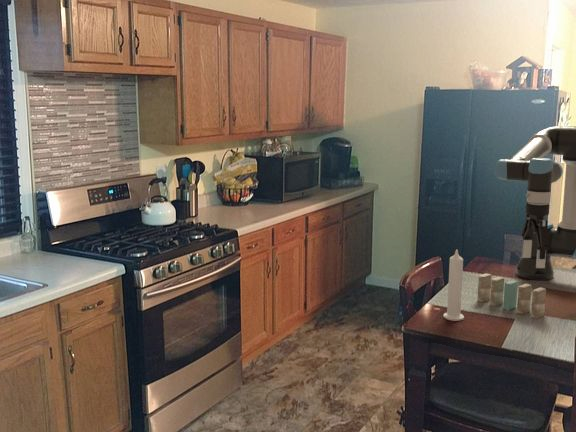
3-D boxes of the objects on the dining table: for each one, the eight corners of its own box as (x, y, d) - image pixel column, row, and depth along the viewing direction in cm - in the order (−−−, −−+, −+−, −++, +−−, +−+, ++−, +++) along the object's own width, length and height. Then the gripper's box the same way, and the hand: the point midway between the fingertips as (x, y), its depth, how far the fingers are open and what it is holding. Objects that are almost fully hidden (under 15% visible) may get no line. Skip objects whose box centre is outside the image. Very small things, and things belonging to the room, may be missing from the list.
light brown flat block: (477, 300, 225) (478, 275, 223) (485, 298, 228) (486, 273, 226) (482, 302, 223) (483, 277, 221) (490, 299, 226) (491, 274, 224)
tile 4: (489, 304, 221) (491, 279, 219) (497, 301, 224) (499, 276, 222) (495, 306, 219) (496, 280, 217) (502, 303, 222) (504, 278, 220)
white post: (453, 322, 204) (456, 252, 199) (439, 316, 210) (442, 248, 205) (468, 318, 207) (471, 250, 202) (454, 312, 213) (457, 245, 208)
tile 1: (530, 317, 208) (532, 290, 206) (538, 313, 211) (540, 287, 209) (536, 318, 206) (538, 291, 204) (544, 315, 209) (546, 288, 207)
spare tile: (503, 308, 217) (504, 282, 215) (510, 305, 220) (512, 280, 218) (508, 310, 215) (510, 284, 213) (516, 307, 218) (517, 281, 216)
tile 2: (516, 312, 212) (518, 286, 210) (524, 309, 215) (526, 283, 213) (522, 314, 211) (524, 287, 209) (529, 311, 214) (531, 285, 212)
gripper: (515, 197, 215) (511, 253, 219) (540, 209, 191) (535, 272, 195) (535, 197, 215) (531, 253, 219) (563, 209, 190) (558, 272, 194)
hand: (533, 262), depth 207 cm, fingers open, 13 cm apart
